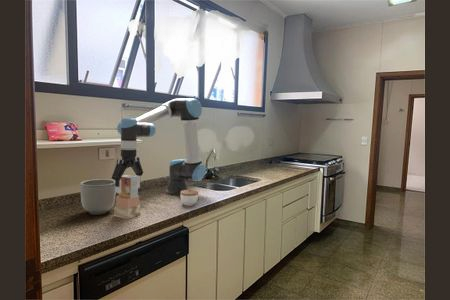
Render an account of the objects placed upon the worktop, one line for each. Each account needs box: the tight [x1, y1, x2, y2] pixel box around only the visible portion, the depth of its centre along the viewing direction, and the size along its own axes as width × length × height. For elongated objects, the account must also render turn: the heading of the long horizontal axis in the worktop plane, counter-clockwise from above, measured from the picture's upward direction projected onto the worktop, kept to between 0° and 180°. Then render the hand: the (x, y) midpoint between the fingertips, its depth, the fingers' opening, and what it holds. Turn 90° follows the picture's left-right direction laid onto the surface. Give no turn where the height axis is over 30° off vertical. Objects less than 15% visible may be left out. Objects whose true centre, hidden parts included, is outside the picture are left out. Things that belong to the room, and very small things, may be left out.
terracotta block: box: [115, 195, 140, 209], centre depth 145 cm, size 8×8×5 cm
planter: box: [79, 178, 117, 216], centre depth 147 cm, size 17×17×16 cm
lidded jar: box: [180, 188, 199, 207], centre depth 169 cm, size 11×11×9 cm
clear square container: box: [113, 204, 142, 220], centre depth 145 cm, size 9×9×5 cm
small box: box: [117, 174, 139, 199], centre depth 144 cm, size 8×6×10 cm
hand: (128, 190), depth 144 cm, fingers open, 13 cm apart
